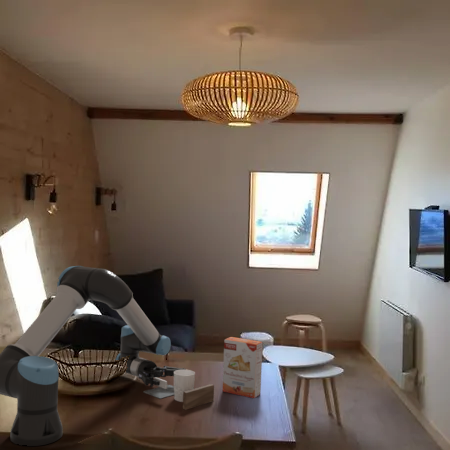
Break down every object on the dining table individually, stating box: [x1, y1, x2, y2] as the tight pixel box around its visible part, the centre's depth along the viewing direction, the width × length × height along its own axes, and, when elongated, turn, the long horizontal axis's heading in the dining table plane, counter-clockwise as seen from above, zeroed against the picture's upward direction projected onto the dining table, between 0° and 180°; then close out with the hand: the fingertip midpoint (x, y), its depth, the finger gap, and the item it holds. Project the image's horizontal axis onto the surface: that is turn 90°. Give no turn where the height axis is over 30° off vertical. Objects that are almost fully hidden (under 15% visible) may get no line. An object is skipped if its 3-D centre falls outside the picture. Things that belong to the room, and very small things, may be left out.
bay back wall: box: [182, 383, 215, 411], centre depth 207 cm, size 2×14×6 cm, turn 137°
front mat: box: [143, 384, 174, 400], centre depth 220 cm, size 10×13×1 cm
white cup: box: [173, 368, 196, 403], centre depth 212 cm, size 8×8×10 cm
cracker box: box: [221, 336, 263, 399], centre depth 221 cm, size 14×6×21 cm, turn 62°
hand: (180, 381), depth 214 cm, fingers open, 13 cm apart
